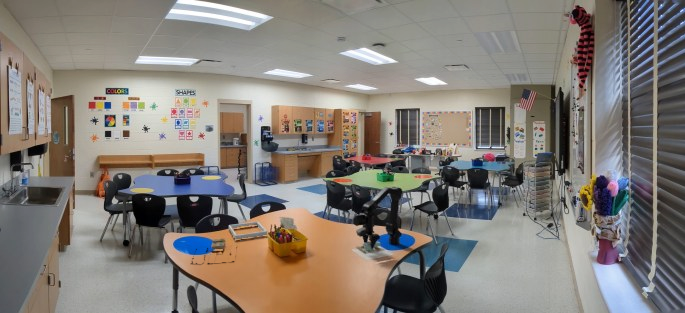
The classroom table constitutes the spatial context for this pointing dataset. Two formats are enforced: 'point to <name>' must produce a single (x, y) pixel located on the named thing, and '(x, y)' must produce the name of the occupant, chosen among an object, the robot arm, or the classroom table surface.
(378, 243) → the teal dome with tabs
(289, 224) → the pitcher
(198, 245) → the classroom table surface
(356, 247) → the cradle
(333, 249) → the classroom table surface
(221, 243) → the pile of dominoes
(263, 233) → the train corral
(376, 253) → the board
